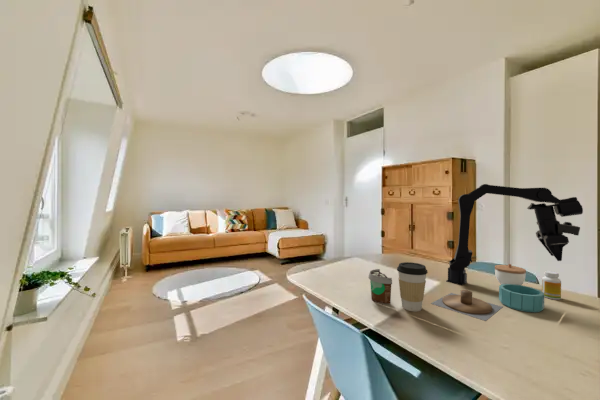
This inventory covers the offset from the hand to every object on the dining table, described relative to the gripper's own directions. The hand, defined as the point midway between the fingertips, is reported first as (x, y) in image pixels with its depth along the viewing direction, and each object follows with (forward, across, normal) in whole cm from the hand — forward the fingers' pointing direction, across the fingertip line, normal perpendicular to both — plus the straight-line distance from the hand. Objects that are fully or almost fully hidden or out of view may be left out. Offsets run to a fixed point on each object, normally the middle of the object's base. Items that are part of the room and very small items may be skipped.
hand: (556, 258), depth 105 cm
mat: (+8, -31, +32) cm, 45 cm away
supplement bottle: (+14, -3, +5) cm, 15 cm away
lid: (+7, -31, +32) cm, 45 cm away
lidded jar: (+12, +5, +17) cm, 21 cm away
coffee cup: (+4, -43, +47) cm, 64 cm away
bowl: (+11, -21, +16) cm, 28 cm away
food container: (+2, -42, +60) cm, 73 cm away
